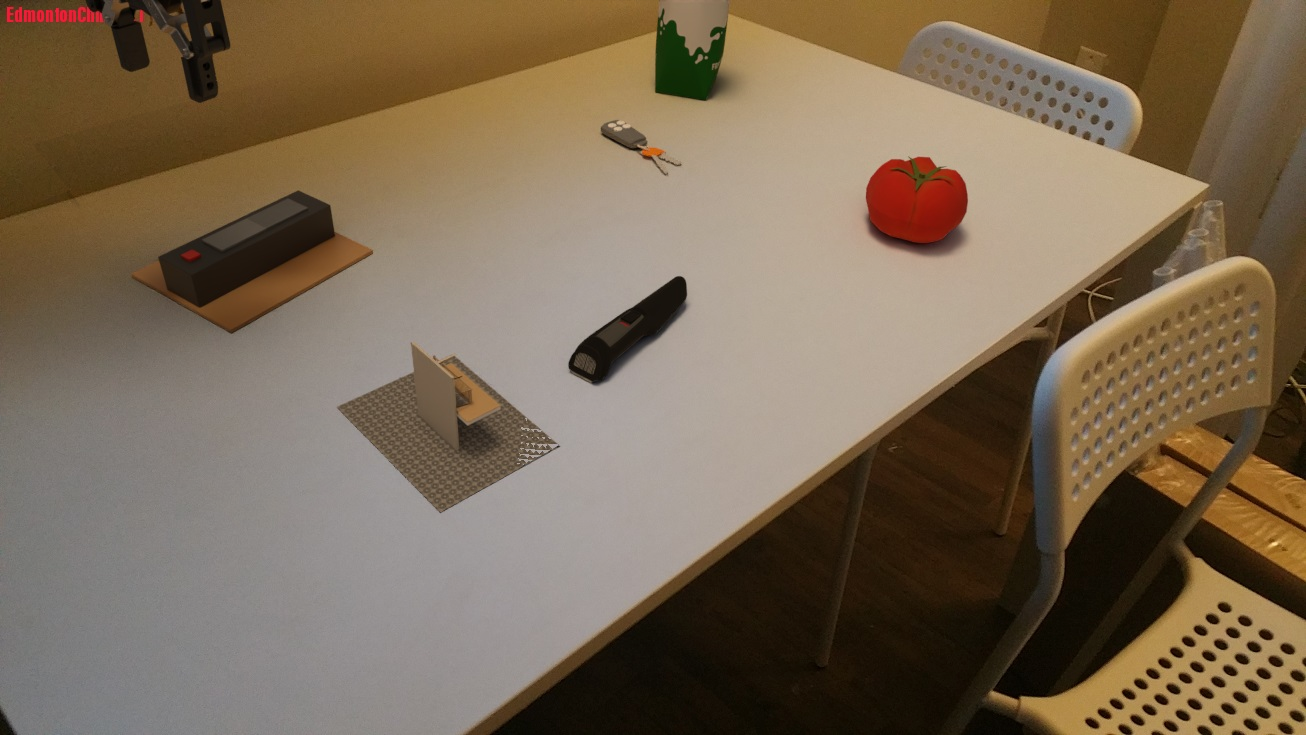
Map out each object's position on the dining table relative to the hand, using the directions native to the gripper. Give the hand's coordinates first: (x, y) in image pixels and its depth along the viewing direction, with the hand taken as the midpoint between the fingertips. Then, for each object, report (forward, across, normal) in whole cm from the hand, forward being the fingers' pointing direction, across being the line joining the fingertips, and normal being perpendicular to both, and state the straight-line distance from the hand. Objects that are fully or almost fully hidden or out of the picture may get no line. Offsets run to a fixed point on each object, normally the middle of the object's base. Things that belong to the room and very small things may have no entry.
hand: (170, 83), depth 81 cm
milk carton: (+18, +11, +69) cm, 72 cm away
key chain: (+19, +17, +48) cm, 55 cm away
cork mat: (+19, +1, +4) cm, 20 cm away
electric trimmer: (+19, +37, +16) cm, 44 cm away
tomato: (+18, +50, +52) cm, 74 cm away
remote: (+19, +2, +4) cm, 19 cm away
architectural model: (+19, +31, -3) cm, 37 cm away
